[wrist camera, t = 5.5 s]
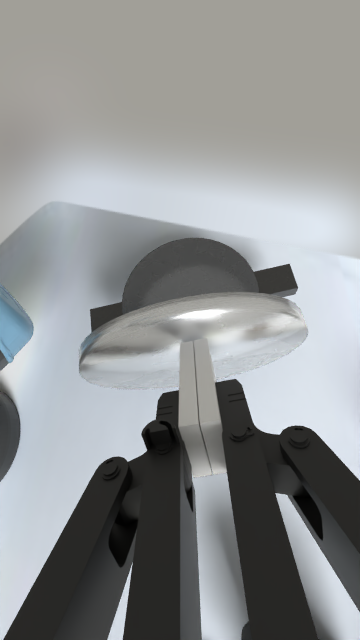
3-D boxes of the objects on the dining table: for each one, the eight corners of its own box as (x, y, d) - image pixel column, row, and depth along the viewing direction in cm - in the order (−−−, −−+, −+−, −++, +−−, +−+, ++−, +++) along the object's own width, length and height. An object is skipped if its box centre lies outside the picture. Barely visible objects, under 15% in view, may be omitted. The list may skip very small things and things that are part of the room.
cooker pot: (124, 396, 40) (92, 385, 31) (114, 296, 46) (84, 262, 37) (298, 361, 38) (318, 339, 29) (266, 261, 44) (274, 216, 35)
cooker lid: (127, 386, 31) (128, 398, 31) (23, 333, 16) (22, 354, 16) (283, 355, 30) (286, 367, 29) (332, 263, 15) (341, 284, 14)
